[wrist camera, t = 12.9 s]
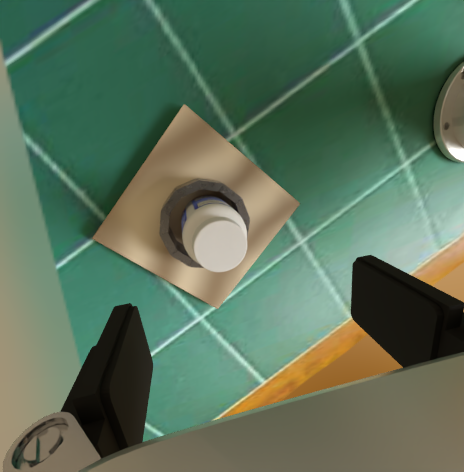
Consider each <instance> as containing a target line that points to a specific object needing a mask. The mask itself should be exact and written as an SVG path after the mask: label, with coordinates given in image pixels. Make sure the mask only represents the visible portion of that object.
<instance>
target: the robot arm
mask: <svg viewBox="0 0 464 472" xmlns="http://www.w3.org/2000/svg"><path fill="white" fill-rule="evenodd" d="M434 135H435V139H436V142H437V145H438V147H439V148H440V150H441V152H442V153H443V154H444V155H445V156H446V157H447V158H449V159H451V160H452V161H456V162H462V163H464V62H462V63H461V64H460V65H459V66H458V67H457V68H456V69H455V70H454V71H453V72H452V74H451V75H450V76H449V78H448V79H447V81H446V83H445V84H444V86H443V88H442V90H441V92H440V95H439V97H438V100H437V104H436V107H435V113H434ZM463 310H464V303H463V302H462V301H460V300H458V299H456V298H454V297H452V296H450V295H448V294H446V293H444V292H442V291H440V290H438V289H436V288H435V287H433V286H431V285H429V284H427V283H425V282H423V281H421V280H419V279H417V278H415V277H413V276H411V275H409V274H407V273H405V272H403V271H401V270H400V269H398V268H396V267H394V266H392V265H390V264H388V263H386V262H384V261H382V260H380V259H378V258H376V257H374V256H372V255H368V256H363V257H358V258H357V259H356V260H355V262H354V263H353V271H352V298H351V316H352V318H353V320H354V321H355V322H356V323H357V324H358V325H359V326H360V327H361V328H362V329H363V330H364V331H365V332H366V333H368V334H369V335H370V336H371V337H372V338H373V339H374V340H375V341H376V342H377V343H378V344H379V345H380V346H381V347H382V348H383V349H384V350H385V351H386V352H388V353H389V354H390V355H391V356H392V357H393V358H394V359H395V360H396V361H397V362H398V363H399V364H400V365H401V366H402V367H403V368H401V369H397V370H393V371H390V372H386V373H382V374H378V375H375V376H371V377H368V378H364V379H360V380H357V381H353V382H350V383H346V384H342V385H339V386H335V387H331V388H328V389H324V390H321V391H317V392H313V393H310V394H306V395H303V396H299V397H295V398H292V399H288V400H284V401H281V402H277V403H274V404H270V405H267V406H263V407H260V408H256V409H253V410H249V411H246V412H242V413H238V414H235V415H231V416H228V417H224V418H221V419H217V420H214V421H210V422H207V423H204V424H200V425H197V426H194V427H190V428H187V429H184V430H180V431H177V432H174V433H170V434H167V435H164V436H160V437H157V438H154V439H151V440H148V441H145V442H142V441H143V434H144V427H145V420H146V413H147V406H148V399H149V392H150V385H151V378H152V371H153V362H152V357H151V354H150V350H149V346H148V343H147V339H146V336H145V332H144V329H143V325H142V322H141V318H140V315H139V311H138V308H137V306H133V307H132V305H131V304H130V303H129V304H124V305H119V306H115V307H114V309H113V311H112V313H111V315H110V317H109V319H108V322H107V324H106V326H105V328H104V330H103V332H102V334H101V337H100V339H99V341H98V343H97V345H96V346H94V347H92V348H91V350H90V352H89V354H88V356H87V358H86V360H85V362H84V364H83V366H82V368H81V370H80V372H79V375H78V376H77V379H76V381H75V383H74V385H73V387H72V389H71V391H70V393H69V395H68V397H67V399H66V401H65V403H64V406H63V408H62V410H61V412H57V413H53V414H50V415H48V416H46V417H43V418H42V419H40V420H38V421H37V422H35V423H34V424H32V425H31V426H30V427H29V428H27V429H26V430H25V431H24V432H23V433H22V434H21V435H20V436H19V437H18V438H17V439H16V440H15V441H14V443H13V444H12V446H11V447H10V449H9V450H8V452H7V454H6V456H5V459H4V461H3V472H464V312H463Z"/></svg>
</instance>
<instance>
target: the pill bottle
mask: <svg viewBox="0 0 464 472" xmlns="http://www.w3.org/2000/svg"><path fill="white" fill-rule="evenodd" d="M181 225H182V239H183V244H184V247H185V249H186V251H187V253H188V255H189V256H190V257H191V258H192V259H193V260H194V261H195V262H197V263H199V264H200V265H201V266H202V267H204V268H205V269H207V270H210V271H213V272H225V271H229V270H231V269H233V268H235V267H236V266H237V265H239V264H240V263H241V261H242V260H243V258H244V257H245V254H246V251H247V229H246V225H245V223H244V221H243V219H242V217H241V216H240V215H239V214H238V213H237V211H235V210H234V209H233V208H232V207H231V206H229V205H228V204H227V203H226V202H224V201H223V200H222V199H220V198H218V197H216V196H213V195H202V196H199V197H196V198H194V199H193V200H191V201H190V202H189V203H188V204H187V205H186V207H185V208H184V210H183V213H182V217H181Z"/></svg>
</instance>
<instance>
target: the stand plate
mask: <svg viewBox="0 0 464 472" xmlns="http://www.w3.org/2000/svg"><path fill="white" fill-rule="evenodd" d="M195 178H196V179H197V178H200V179H208V180H216V181H219V182H221V183H223V184H225V185H226V186H227V187H229V188H230V189H231V190H233V191H234V192H235V193H236V194H238V195H239V196H240V197H242V199H243V202H244V204H245V207H246V209H247V212H248V215H249V217H250V224H249V230H248V237H247V251H246V254H245V257H244V258H243V260H242V261H241V263H240V264H239V265H237V266H236V267H235V268H233V269H231V270H229V271H225V272H213V271H210V270H207V269H205V268H195V267H189V266H187V265H185V264H184V263H182V262H180V261H179V260H177V259H175V258H174V257H172V256H171V255H170V254H169V252H168V250H167V248H166V246H165V245H164V243H163V241H162V239H161V237H160V234H159V231H160V215H161V209H162V206H163V204H164V203H165V201H166V200H167V198H168V197H169V196H170V194H171V193H172V191H173V190H174V188H176V187H177V186H179V185H181V184H184V183H186V182H188V181H191V180H193V179H195ZM202 195H213V196H216V197H218V198H220V199H222V200H223V201H224V202H226V203H227V204H228V205H229V206H231V207H232V204H231V202H230V199H229V198H228V197H226V196H225V195H224V194H222V193H221V192H219V191H210V190H202V189H200V190H197V191H195V192H193V193H191V194H188V195H186V196H184V197H181V199H180V200H179V201H178V203H177V204H176V206H175V207H174V208H173V210H172V211H171V213H170V221H169V226H170V228H171V230H172V232H173V234H174V236H175V238H176V240H177V241H178V242H180V243H181V244H183V239H182V225H181V217H182V213H183V210H184V208H185V207H186V205H187V204H188V203H189V202H190V201H191V200H193V199H194V198H196V197H199V196H202ZM299 205H300V203H299V202H298V201H297V200H296V199H294V198H293V197H292V196H291V195H290V194H289V193H287V192H286V191H285V190H284V189H283V188H282V187H280V186H279V185H278V184H277V183H276V182H275V181H273V180H272V179H271V178H270V177H269V176H268V175H267V174H265V173H264V172H263V171H262V170H261V169H260V168H258V167H257V166H256V165H255V164H254V163H253V162H251V161H250V160H249V159H248V158H247V157H246V156H244V155H243V154H242V153H241V152H240V151H239V150H237V149H236V148H235V147H234V146H233V145H232V144H230V143H229V142H228V141H227V140H226V139H225V138H223V137H222V136H221V135H220V134H219V133H218V132H216V131H215V130H214V129H213V128H212V127H211V126H209V125H208V124H207V123H206V122H205V121H204V120H202V119H201V118H200V117H199V116H198V115H197V114H195V113H194V112H193V111H192V110H191V109H190V108H189V107H187V106H186V105H185V104H184V105H183V106H182V108H181V109H180V111H179V112H178V114H177V115H176V117H175V118H174V120H173V121H172V122H171V124H170V125H169V127H168V128H167V130H166V131H165V133H164V134H163V136H162V137H161V139H160V140H159V141H158V143H157V144H156V146H155V147H154V149H153V150H152V152H151V153H150V155H149V156H148V158H147V159H146V160H145V162H144V163H143V165H142V166H141V168H140V169H139V171H138V172H137V174H136V175H135V177H134V178H133V179H132V181H131V182H130V184H129V185H128V187H127V188H126V190H125V191H124V193H123V194H122V195H121V197H120V198H119V200H118V201H117V203H116V204H115V206H114V207H113V209H112V210H111V212H110V213H109V214H108V216H107V217H106V219H105V220H104V222H103V223H102V225H101V226H100V228H99V229H98V231H97V232H96V233H95V235H94V236H93V238H92V239H94V240H96V241H97V242H99V243H101V244H103V245H104V246H106V247H108V248H110V249H112V250H113V251H115V252H117V253H119V254H120V255H122V256H124V257H126V258H128V259H129V260H131V261H133V262H135V263H137V264H138V265H140V266H142V267H144V268H145V269H147V270H149V271H151V272H153V273H154V274H156V275H158V276H160V277H161V278H163V279H165V280H167V281H169V282H170V283H172V284H174V285H176V286H178V287H179V288H181V289H183V290H185V291H186V292H188V293H190V294H192V295H194V296H195V297H197V298H199V299H201V300H202V301H204V302H206V303H208V304H210V305H211V306H213V307H215V308H217V309H218V308H219V307H220V305H221V304H222V303H223V301H224V300H225V299H226V298H227V296H228V295H229V294H230V293H231V291H232V290H233V289H234V287H235V286H236V285H237V284H238V282H239V281H240V280H241V279H242V277H243V276H244V275H245V273H246V272H247V271H248V270H249V268H250V267H251V266H252V264H253V263H254V262H255V261H256V259H257V258H258V257H259V256H260V254H261V253H262V252H263V250H264V249H265V248H266V247H267V245H268V244H269V243H270V242H271V240H272V239H273V238H274V236H275V235H276V234H277V233H278V231H279V230H280V229H281V227H282V226H283V225H284V224H285V222H286V221H287V220H288V219H289V217H290V216H291V215H292V213H293V212H294V211H295V210H296V208H297V207H298V206H299ZM232 208H233V207H232ZM183 245H184V244H183Z"/></svg>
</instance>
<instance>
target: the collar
mask: <svg viewBox="0 0 464 472" xmlns="http://www.w3.org/2000/svg"><path fill="white" fill-rule="evenodd" d="M200 189H202V190H210V191H219V192H221V193H222V194H224V195H225V196H226V197H228V198H229V199H230V202H231V204H232V207H233V209H234V210H235V211H237V213H238V214H239V215H240V216H241V217H242V219H243V221H244V223H245V225H246V229H247V237H248V230H249V224H250V217H249V215H248V212H247V209H246V207H245V204H244V202H243V199H242V197H240V196H239V195H238V194H236V193H235V192H234V191H233V190H231V189H230V188H229V187H227V186H226V185H225V184H223V183H221V182H219V181H216V180H208V179H200V178H197V179H196V178H195V179H193V180H191V181H188V182H186V183H184V184H181V185H179V186H177V187H176V188H174V190H173V191H172V193H171V194H170V196H169V197H168V198H167V200H166V201H165V203H164V204H163V206H162V209H161V215H160V231H159V234H160V237H161V239H162V241H163V243H164V245H165V246H166V248H167V250H168V252H169V254H170V255H171V256H172V257H174V258H175V259H177V260H179V261H180V262H182V263H184V264H185V265H187V266H189V267H195V268H204V267H202V266H201V265H200V264H199V263H197V262H195V261H194V260H193V259H192V258H191V257H190V256H189V255H188V253H187V251H186V249H185V247H184V245H183V244H181V243H180V242H178V241H177V240H176V238H175V236H174V234H173V232H172V230H171V228H170V226H169V221H170V213H171V211H172V210H173V208H174V207H175V206H176V204H177V203H178V201H179V200H180V199H181V197H184V196H186V195H188V194H191V193H193V192H195V191H197V190H200Z"/></svg>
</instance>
